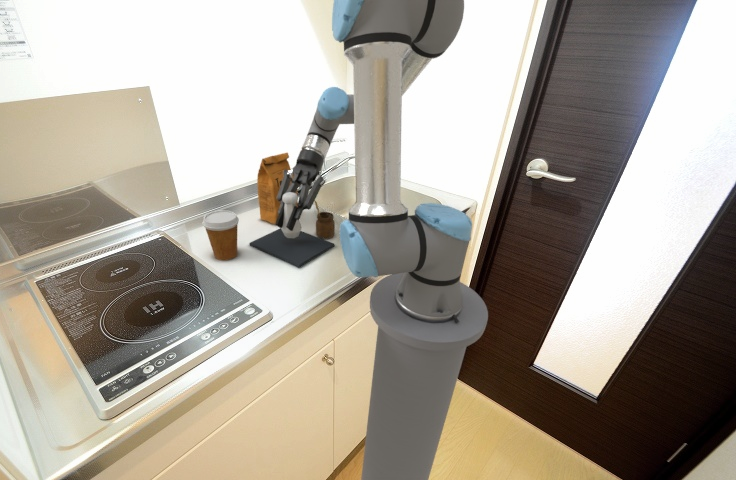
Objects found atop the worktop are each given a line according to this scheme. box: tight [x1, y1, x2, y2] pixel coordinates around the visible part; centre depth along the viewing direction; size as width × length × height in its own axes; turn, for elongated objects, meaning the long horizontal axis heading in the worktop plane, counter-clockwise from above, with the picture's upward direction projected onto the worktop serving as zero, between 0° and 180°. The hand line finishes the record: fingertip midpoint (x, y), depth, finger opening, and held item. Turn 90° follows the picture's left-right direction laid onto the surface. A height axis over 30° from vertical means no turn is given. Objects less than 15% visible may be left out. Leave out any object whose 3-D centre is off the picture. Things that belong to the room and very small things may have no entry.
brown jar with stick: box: [314, 200, 336, 240], centre depth 114 cm, size 6×6×12 cm
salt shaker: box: [281, 192, 302, 238], centre depth 105 cm, size 6×6×13 cm
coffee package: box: [256, 152, 299, 225], centre depth 121 cm, size 10×12×22 cm
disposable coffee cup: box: [201, 209, 240, 261], centre depth 102 cm, size 10×10×12 cm
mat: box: [249, 228, 336, 269], centre depth 110 cm, size 20×16×1 cm
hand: (283, 227), depth 103 cm, fingers closed on salt shaker, 3 cm apart
